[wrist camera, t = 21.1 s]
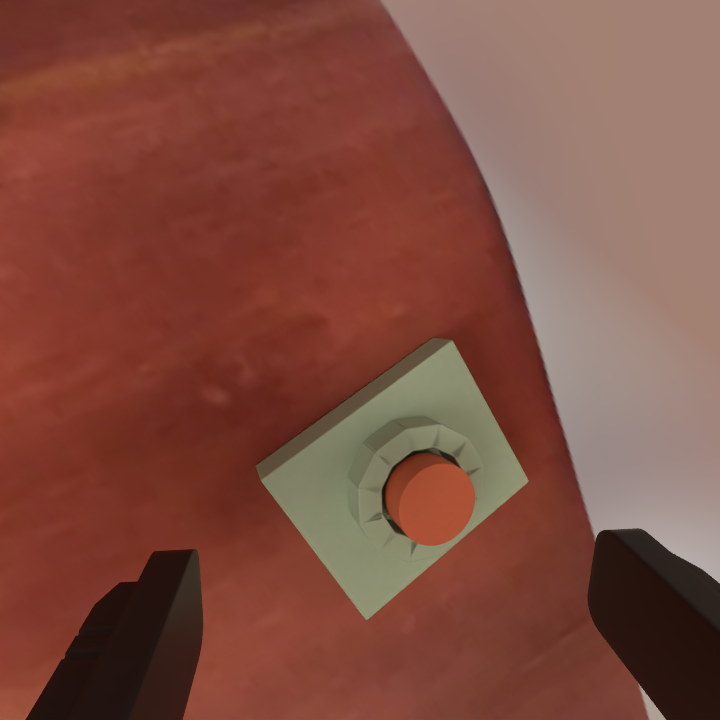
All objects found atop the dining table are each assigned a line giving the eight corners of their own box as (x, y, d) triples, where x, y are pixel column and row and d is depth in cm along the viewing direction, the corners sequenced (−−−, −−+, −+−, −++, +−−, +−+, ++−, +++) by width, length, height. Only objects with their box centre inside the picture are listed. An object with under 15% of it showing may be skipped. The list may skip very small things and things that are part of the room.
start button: (433, 436, 23) (451, 446, 22) (469, 495, 25) (488, 509, 23) (369, 486, 23) (383, 500, 21) (409, 545, 24) (425, 563, 22)
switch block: (432, 336, 27) (471, 342, 23) (506, 468, 30) (551, 493, 26) (255, 465, 24) (266, 495, 21) (353, 596, 27) (378, 644, 23)
